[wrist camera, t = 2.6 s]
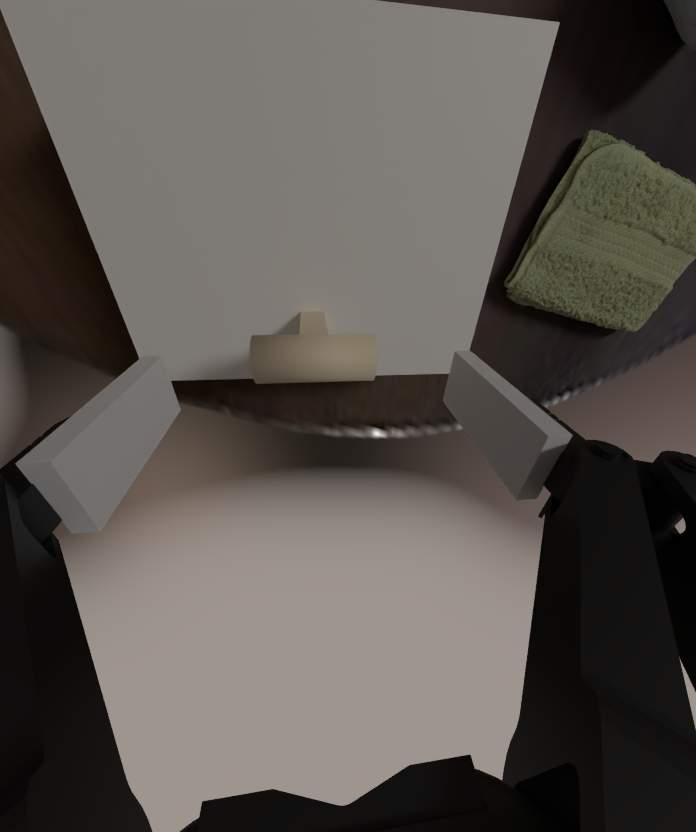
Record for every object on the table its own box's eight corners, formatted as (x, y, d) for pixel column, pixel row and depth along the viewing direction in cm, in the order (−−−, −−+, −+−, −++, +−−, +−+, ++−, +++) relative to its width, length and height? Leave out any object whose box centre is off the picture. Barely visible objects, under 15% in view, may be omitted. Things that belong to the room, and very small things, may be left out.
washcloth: (575, 124, 23) (610, 113, 21) (718, 202, 28) (762, 201, 25) (488, 294, 30) (505, 302, 27) (614, 335, 34) (639, 346, 32)
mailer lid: (-4, -33, 12) (-450, -386, 5) (548, 30, 15) (771, -137, 8) (153, 376, 22) (82, 451, 15) (458, 369, 25) (518, 429, 18)
